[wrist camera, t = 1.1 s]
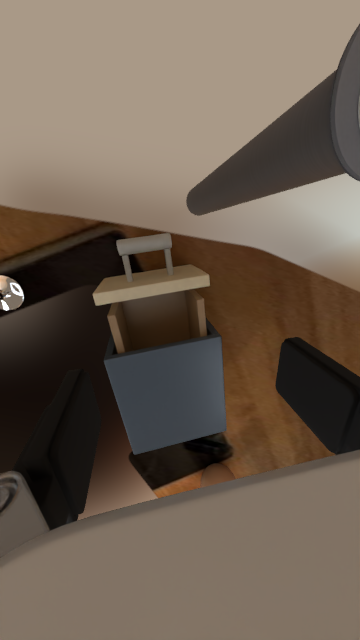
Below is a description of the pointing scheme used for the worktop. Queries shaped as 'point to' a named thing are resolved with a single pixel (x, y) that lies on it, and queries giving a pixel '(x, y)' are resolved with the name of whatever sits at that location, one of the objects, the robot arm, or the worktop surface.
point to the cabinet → (169, 390)
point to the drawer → (153, 299)
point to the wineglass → (10, 293)
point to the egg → (216, 475)
